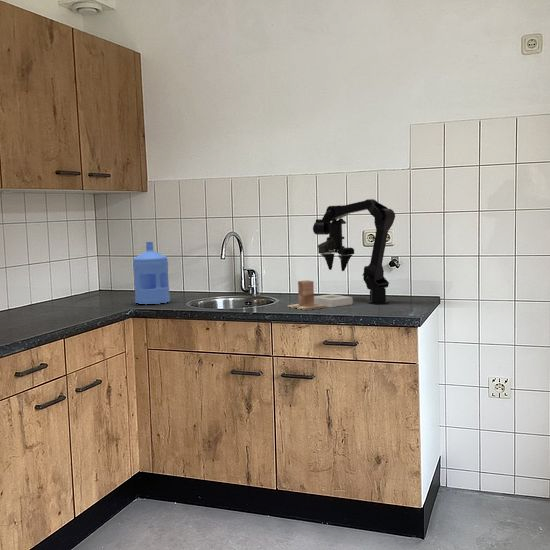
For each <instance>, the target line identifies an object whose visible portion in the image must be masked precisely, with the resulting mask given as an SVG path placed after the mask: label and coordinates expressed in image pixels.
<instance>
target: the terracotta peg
mask: <svg viewBox="0 0 550 550" xmlns="http://www.w3.org/2000/svg"><path fill="white" fill-rule="evenodd" d="M297 286H298V287H297V289H298V304H299V306H304V307H307V306H314V296H315V294H314V293H315V290H314V288H315V287H314V280H299V281H297Z"/></svg>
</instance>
